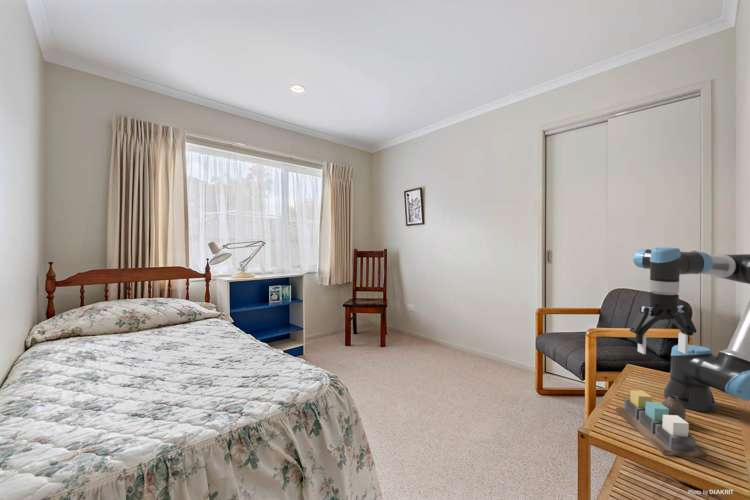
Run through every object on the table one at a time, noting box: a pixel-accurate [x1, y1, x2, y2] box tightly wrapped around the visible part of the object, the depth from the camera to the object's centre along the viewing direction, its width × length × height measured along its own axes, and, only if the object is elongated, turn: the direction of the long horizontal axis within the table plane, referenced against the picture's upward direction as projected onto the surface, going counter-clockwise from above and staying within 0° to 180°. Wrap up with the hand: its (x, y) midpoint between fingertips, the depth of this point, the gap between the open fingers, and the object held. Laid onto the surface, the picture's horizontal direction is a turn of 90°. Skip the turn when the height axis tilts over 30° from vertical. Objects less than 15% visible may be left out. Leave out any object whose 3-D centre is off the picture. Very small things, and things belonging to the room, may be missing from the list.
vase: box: [660, 396, 687, 420], centre depth 118 cm, size 7×7×9 cm
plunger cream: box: [662, 415, 690, 437], centre depth 104 cm, size 4×4×5 cm
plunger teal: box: [645, 401, 669, 421], centre depth 111 cm, size 4×4×5 cm
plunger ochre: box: [629, 389, 653, 408], centre depth 119 cm, size 4×4×5 cm
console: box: [615, 398, 707, 458], centre depth 112 cm, size 12×24×6 cm, turn 173°
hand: (662, 352), depth 111 cm, fingers open, 13 cm apart
